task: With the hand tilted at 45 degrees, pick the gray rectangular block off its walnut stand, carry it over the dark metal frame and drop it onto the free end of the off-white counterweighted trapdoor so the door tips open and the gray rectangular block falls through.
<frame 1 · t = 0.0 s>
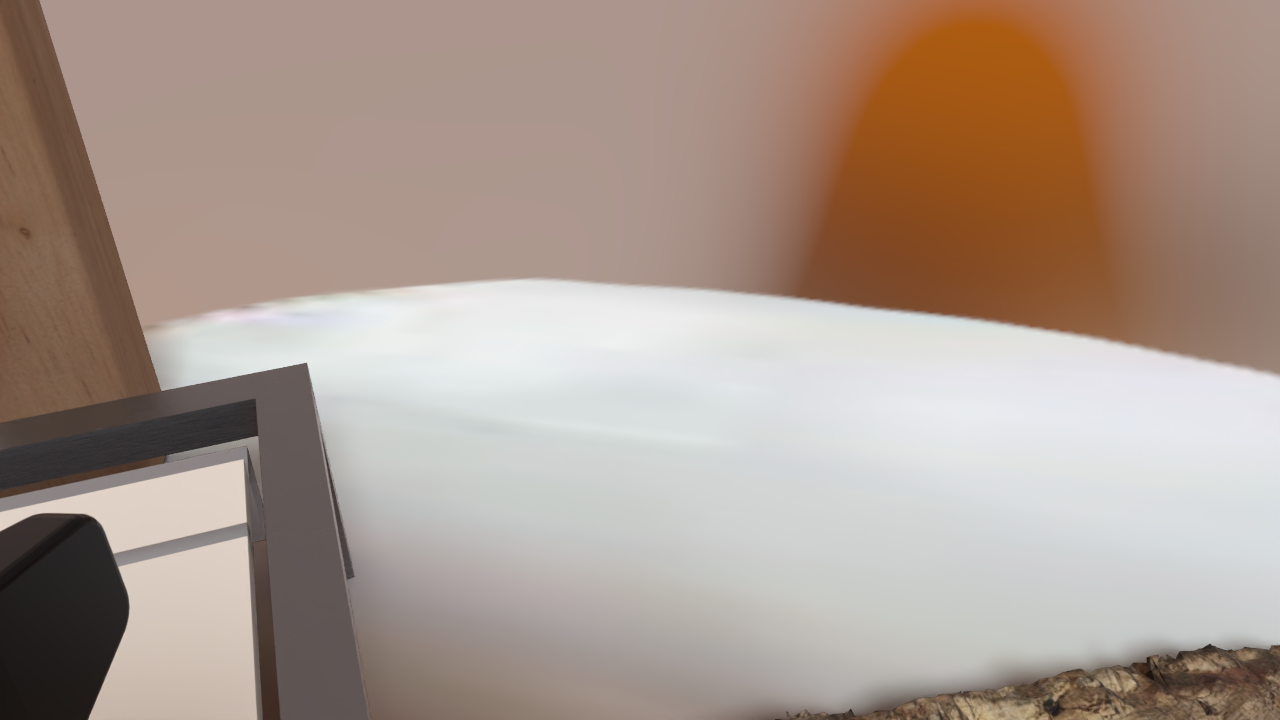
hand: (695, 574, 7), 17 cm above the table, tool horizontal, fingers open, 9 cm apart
wooden block: (39, 486, 38), on the table
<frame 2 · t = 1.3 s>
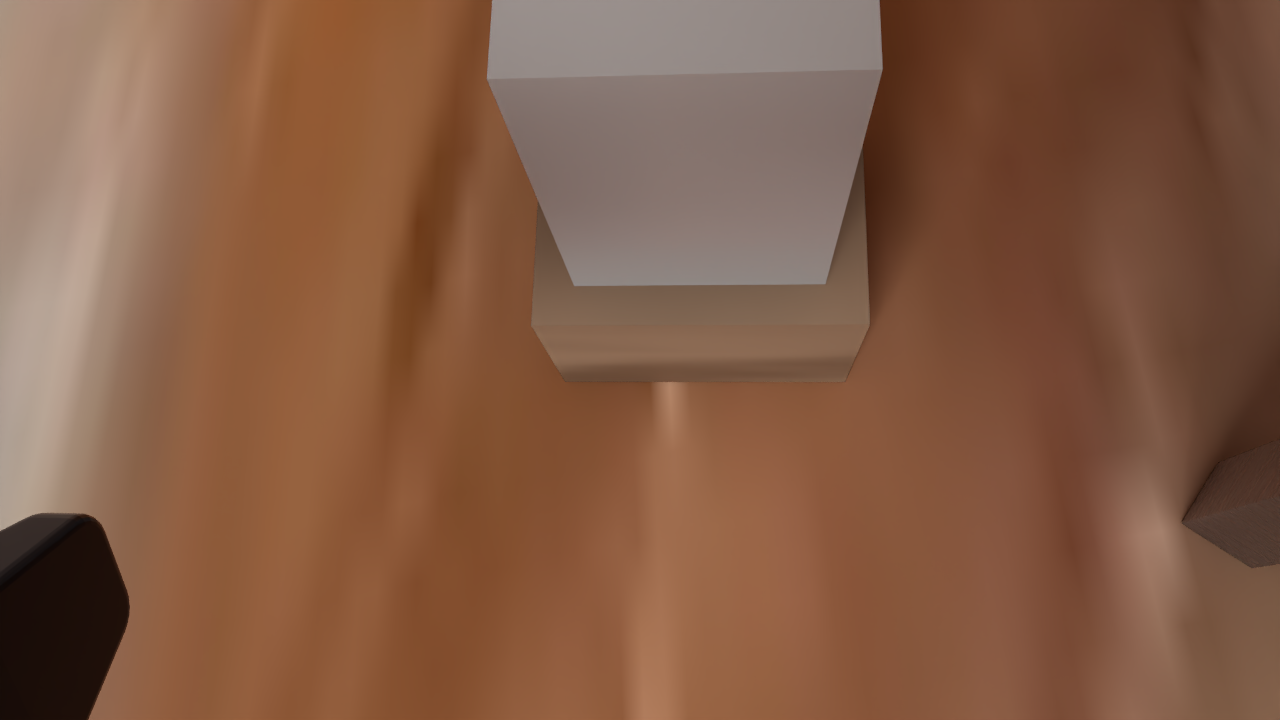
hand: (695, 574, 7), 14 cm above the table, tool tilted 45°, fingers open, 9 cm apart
stand: (704, 251, 23), on the table
gray rectangular block: (699, 170, 19), point 4 cm above the table, touching stand
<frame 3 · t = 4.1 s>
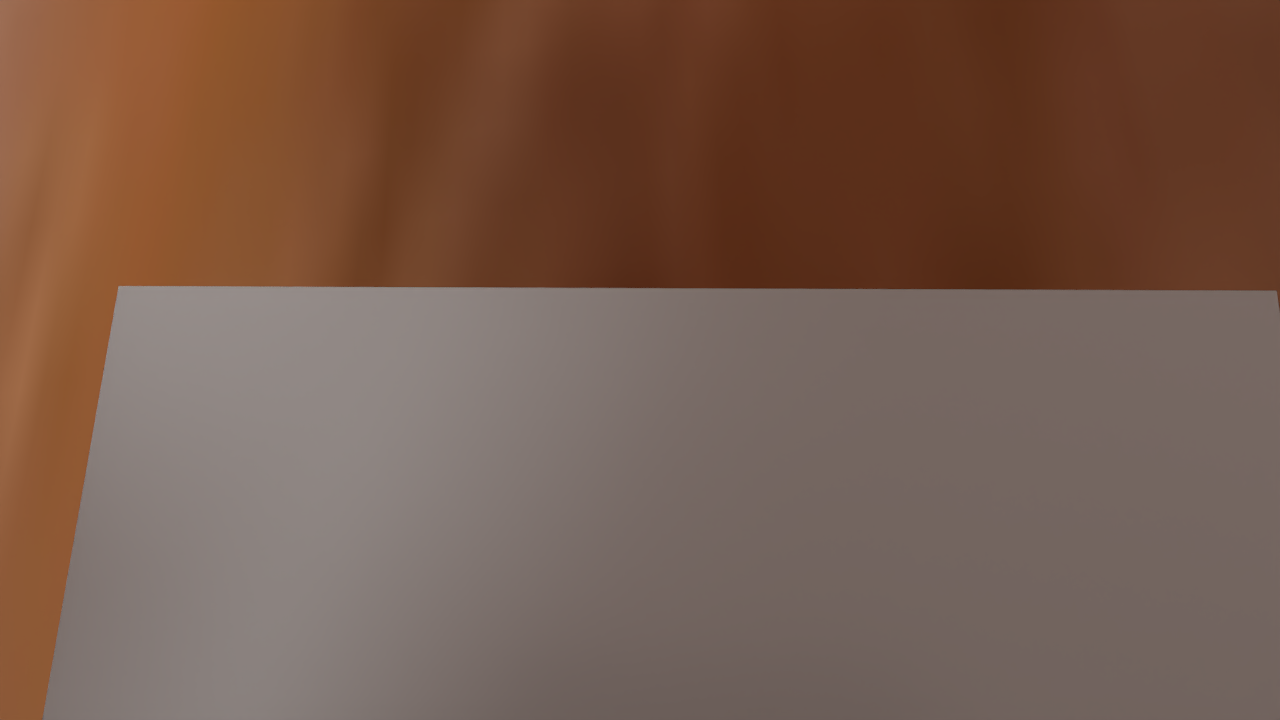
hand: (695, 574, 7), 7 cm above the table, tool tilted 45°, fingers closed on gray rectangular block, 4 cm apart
when the fingers open (13 cm above the table, at t = 10.1 s): gray rectangular block drops 3 cm, resting on trapdoor.
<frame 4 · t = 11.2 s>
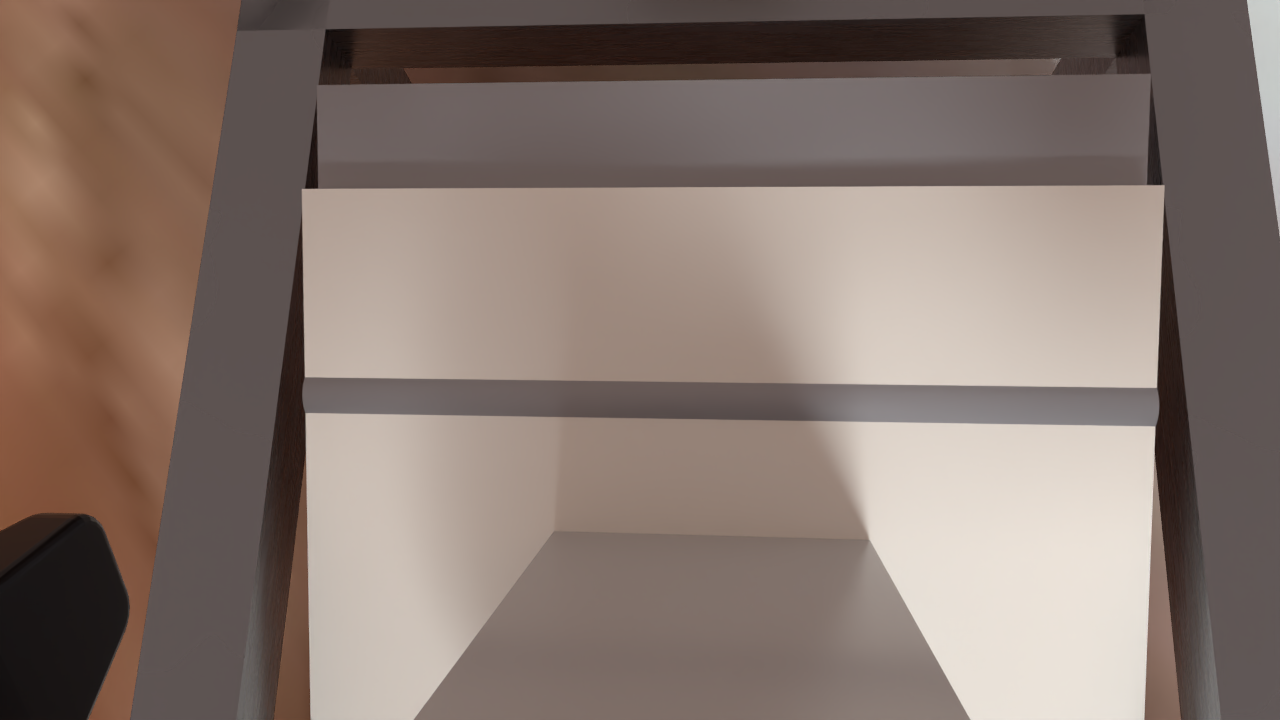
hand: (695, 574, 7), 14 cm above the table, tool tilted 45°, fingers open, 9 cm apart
trapdoor: (715, 469, 16), point 5 cm above the table, hinge at -19.0°, touching gray rectangular block
frame: (719, 471, 21), on the table
gray rectangular block: (707, 689, 15), point 6 cm above the table, tilted 19°, touching trapdoor
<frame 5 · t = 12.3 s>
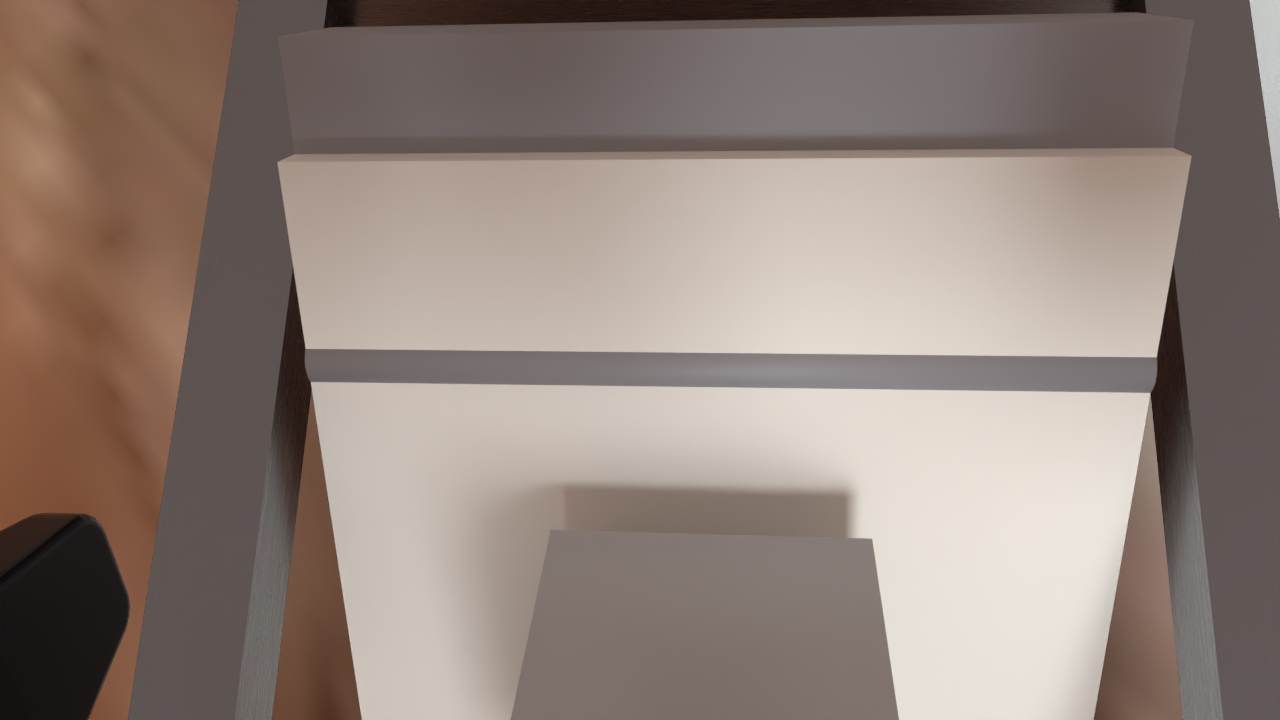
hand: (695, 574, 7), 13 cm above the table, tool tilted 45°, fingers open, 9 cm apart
trapdoor: (716, 410, 16), point 5 cm above the table, hinge at -36.7°, touching gray rectangular block
frame: (719, 446, 21), on the table
gray rectangular block: (709, 640, 16), point 5 cm above the table, tilted 50°, touching trapdoor
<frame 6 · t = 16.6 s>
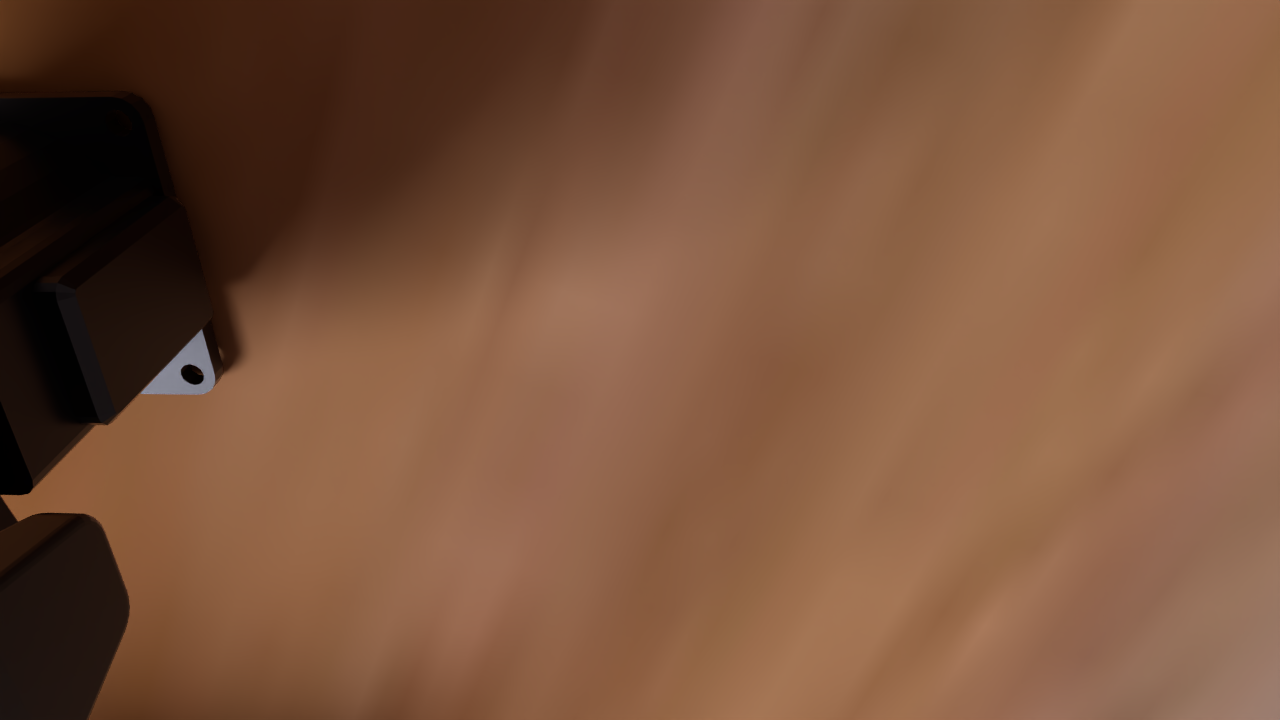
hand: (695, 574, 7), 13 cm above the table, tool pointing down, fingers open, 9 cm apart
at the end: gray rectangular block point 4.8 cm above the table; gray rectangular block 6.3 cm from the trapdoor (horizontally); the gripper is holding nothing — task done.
